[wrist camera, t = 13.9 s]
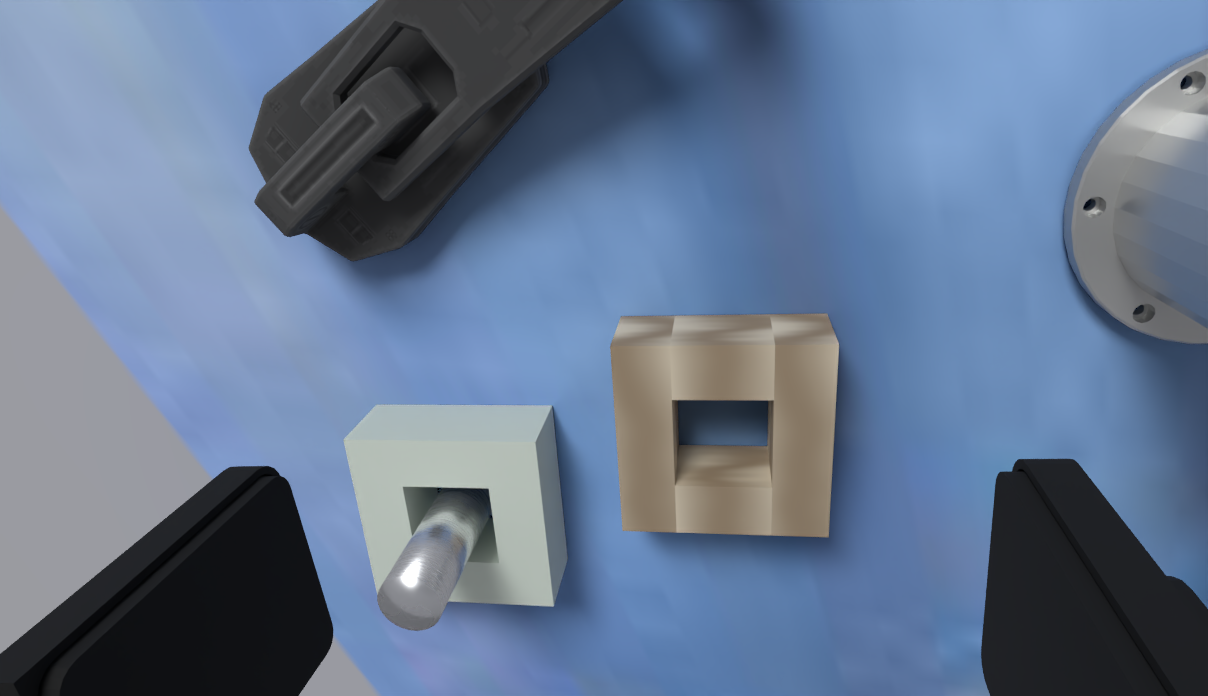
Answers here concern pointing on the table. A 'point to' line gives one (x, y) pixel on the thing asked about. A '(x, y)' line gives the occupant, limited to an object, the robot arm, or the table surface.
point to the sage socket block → (466, 460)
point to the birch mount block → (726, 473)
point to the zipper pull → (403, 114)
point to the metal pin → (434, 558)
